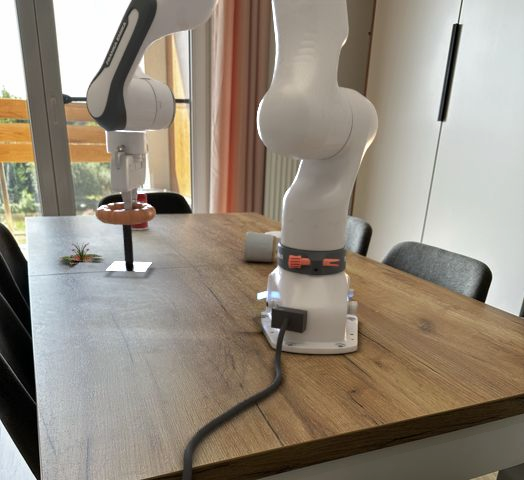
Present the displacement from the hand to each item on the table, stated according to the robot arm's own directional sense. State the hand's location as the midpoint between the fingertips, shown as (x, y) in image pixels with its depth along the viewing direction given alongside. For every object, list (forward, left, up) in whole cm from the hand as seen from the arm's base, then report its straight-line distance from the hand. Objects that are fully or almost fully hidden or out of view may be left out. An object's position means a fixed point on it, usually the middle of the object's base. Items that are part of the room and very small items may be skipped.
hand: (130, 208), depth 121 cm
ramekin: (+28, -37, -14) cm, 49 cm away
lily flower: (+4, +14, -14) cm, 20 cm away
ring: (-5, 0, 0) cm, 5 cm away
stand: (-5, 0, -14) cm, 15 cm away
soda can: (+53, +10, -14) cm, 56 cm away
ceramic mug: (+12, -31, -14) cm, 36 cm away
